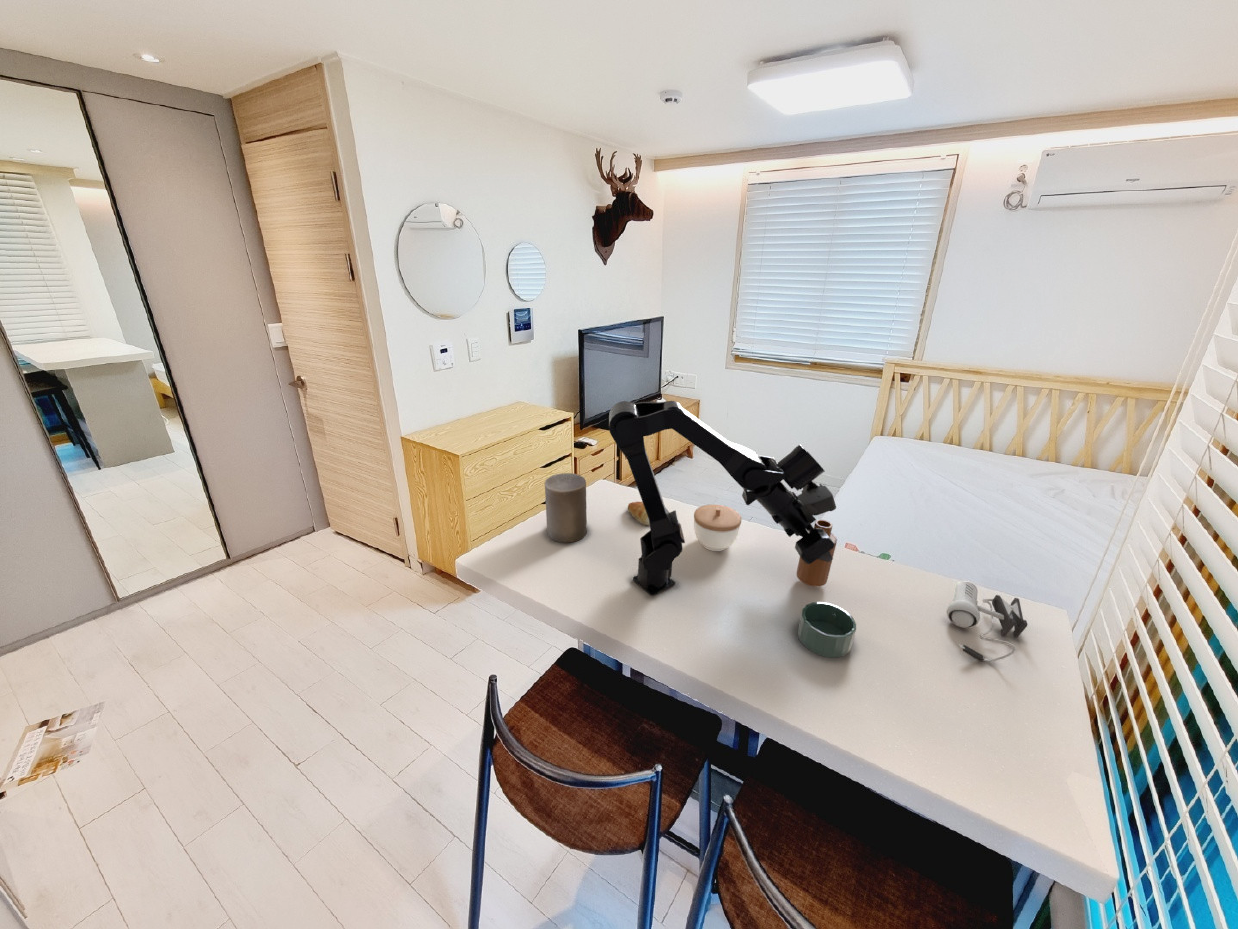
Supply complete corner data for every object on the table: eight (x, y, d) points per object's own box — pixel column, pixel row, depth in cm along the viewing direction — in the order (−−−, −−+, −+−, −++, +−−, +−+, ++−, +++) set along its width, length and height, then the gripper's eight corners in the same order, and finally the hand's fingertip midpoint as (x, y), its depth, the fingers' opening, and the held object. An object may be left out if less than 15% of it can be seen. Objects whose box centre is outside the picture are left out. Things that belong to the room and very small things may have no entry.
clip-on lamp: (1013, 689, 85) (1016, 612, 97) (1032, 669, 81) (1032, 591, 93) (936, 655, 90) (947, 586, 102) (949, 634, 86) (959, 565, 98)
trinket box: (696, 528, 124) (699, 494, 120) (740, 537, 121) (745, 502, 117) (687, 551, 115) (690, 515, 111) (734, 561, 112) (739, 525, 108)
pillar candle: (595, 531, 122) (595, 476, 116) (565, 548, 115) (564, 490, 109) (567, 517, 128) (566, 464, 122) (538, 532, 121) (535, 476, 115)
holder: (831, 666, 85) (837, 645, 83) (787, 634, 92) (791, 614, 90) (861, 643, 90) (866, 623, 88) (816, 614, 96) (820, 595, 95)
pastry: (621, 512, 130) (621, 499, 129) (640, 505, 135) (640, 492, 133) (645, 527, 124) (646, 514, 123) (665, 519, 128) (666, 506, 127)
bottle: (815, 590, 101) (828, 535, 95) (790, 574, 105) (801, 521, 100) (832, 579, 104) (846, 525, 99) (807, 565, 108) (819, 513, 103)
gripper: (834, 500, 86) (881, 554, 91) (797, 456, 103) (838, 504, 108) (781, 538, 89) (830, 589, 94) (753, 489, 106) (796, 535, 111)
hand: (824, 551), depth 102 cm, fingers closed on bottle, 6 cm apart
